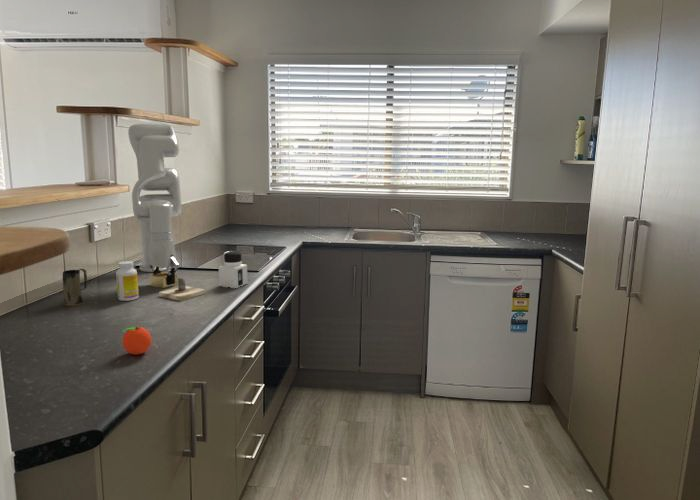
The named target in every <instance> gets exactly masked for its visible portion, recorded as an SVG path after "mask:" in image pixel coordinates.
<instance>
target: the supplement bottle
mask: <svg viewBox="0 0 700 500" xmlns="http://www.w3.org/2000/svg"><path fill="white" fill-rule="evenodd" d="M117 265H118V268H119V269H117V270H116V271H115V277H116V278H115V279H116V289H117V292H116V293H117V298H118V300H119V301H122V302H123V301H124V302H131V301H135V300H137V299H138V298H139V297H140V296H139V295H140V294H139V282H138V281H139V280H138V272H137V268H134V261H133V260H123V261H119V262H118V263H117Z"/></svg>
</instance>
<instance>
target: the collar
mask: <svg viewBox="0 0 700 500" xmlns="http://www.w3.org/2000/svg"><path fill="white" fill-rule="evenodd" d="M167 275H168V272H167V271H161V273H158V274H154V275H153V274H150V276H149V278H150V286H151V287H155V288H159V289H166V288H170V287H173V286H177V285H178V278H179V277H178V273H175V284H171V285H168V284H167Z"/></svg>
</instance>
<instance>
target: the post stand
mask: <svg viewBox="0 0 700 500" xmlns="http://www.w3.org/2000/svg"><path fill="white" fill-rule="evenodd" d="M177 278H178V284H177V285H178V286H176V287H172V288H170V289H169V288H168V289H165V290H162V291H159V292H158V296H159V297H161V298H165V299H169V300H174V301H179V302H182V301H187V300H189V299H193V298H196V297H198V296H202V295H205V294H206V289H203V288H199V287H194V286H188V285H186V277H177Z"/></svg>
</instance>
